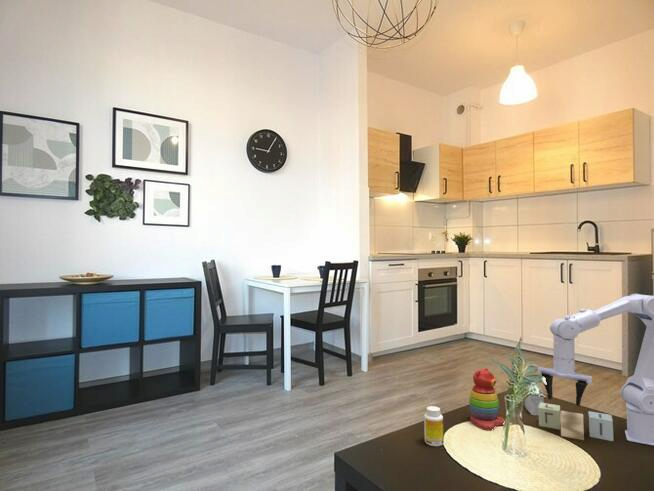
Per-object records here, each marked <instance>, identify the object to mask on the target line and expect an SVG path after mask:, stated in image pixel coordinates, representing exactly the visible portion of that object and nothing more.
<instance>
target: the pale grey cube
mask: <svg viewBox="0 0 654 491" xmlns="http://www.w3.org/2000/svg"><path fill="white" fill-rule="evenodd" d="M613 422H614V420H613V417H612V414H607V413H601V412H596V411H589V410H588V429H589V430H588V431H589V437H590V438H594V439H598V440H599V439H600V440H605V441H609V442H614V424H613Z"/></svg>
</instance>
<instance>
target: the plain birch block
mask: <svg viewBox="0 0 654 491" xmlns="http://www.w3.org/2000/svg"><path fill="white" fill-rule="evenodd" d="M560 420H561V425H560V436H561V437H565V438H571V439H575V440H580V441H585V428H584V426H585V425H584V414H583V413H578V412H573V411H572V412H571V411H565V410H560Z"/></svg>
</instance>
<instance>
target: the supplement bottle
mask: <svg viewBox="0 0 654 491" xmlns="http://www.w3.org/2000/svg"><path fill="white" fill-rule="evenodd" d="M423 420H424V422H423V426H424V429H423V430H424V432H423V433H424V442H425V444H426V445H428V446H431V447H440V446H443V444H444V416H443V414H441V408H440V407H438V406H433V405H430V406H427V407H426V413H424V415H423Z"/></svg>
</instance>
